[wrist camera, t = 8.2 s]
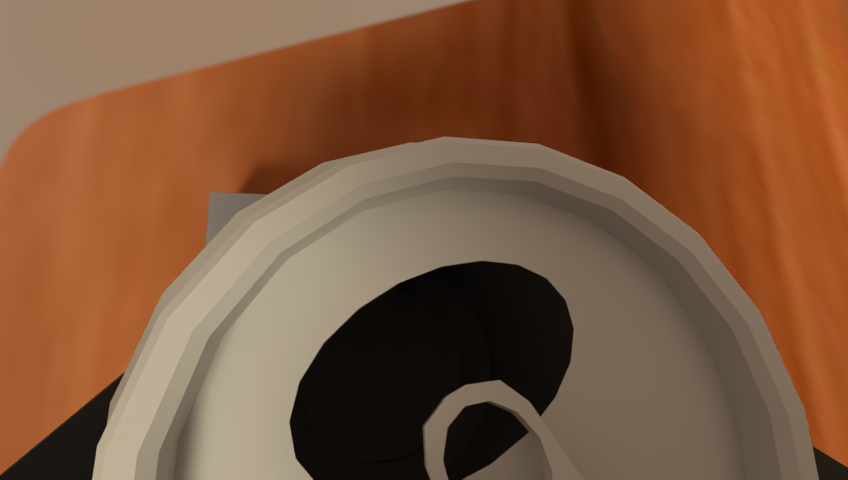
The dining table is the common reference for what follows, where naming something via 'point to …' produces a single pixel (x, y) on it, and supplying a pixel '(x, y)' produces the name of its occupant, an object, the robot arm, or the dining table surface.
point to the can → (456, 336)
